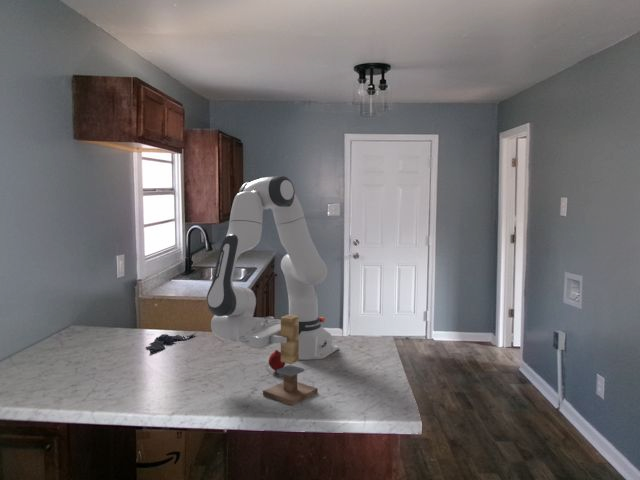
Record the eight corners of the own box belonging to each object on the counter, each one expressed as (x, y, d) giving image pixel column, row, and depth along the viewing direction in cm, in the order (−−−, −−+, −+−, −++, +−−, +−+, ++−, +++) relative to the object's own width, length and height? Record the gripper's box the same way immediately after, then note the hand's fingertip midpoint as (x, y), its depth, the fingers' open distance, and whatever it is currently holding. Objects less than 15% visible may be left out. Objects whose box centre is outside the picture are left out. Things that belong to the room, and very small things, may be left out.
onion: (288, 369, 187) (287, 347, 186) (281, 375, 181) (281, 352, 180) (272, 367, 189) (272, 345, 188) (266, 373, 183) (265, 350, 182)
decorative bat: (180, 323, 233) (198, 328, 229) (179, 332, 233) (198, 337, 229) (130, 342, 206) (150, 347, 202) (130, 352, 206) (150, 357, 202)
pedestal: (289, 383, 173) (288, 360, 173) (317, 392, 166) (317, 368, 165) (263, 395, 164) (262, 370, 163) (292, 405, 157) (291, 379, 156)
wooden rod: (287, 358, 166) (287, 314, 165) (298, 360, 165) (298, 316, 163) (280, 361, 163) (280, 317, 162) (291, 364, 161) (291, 318, 160)
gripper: (235, 329, 160) (273, 336, 153) (272, 315, 178) (308, 320, 171) (235, 349, 160) (273, 357, 154) (272, 333, 178) (308, 339, 172)
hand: (292, 337), depth 163 cm, fingers closed on wooden rod, 4 cm apart
